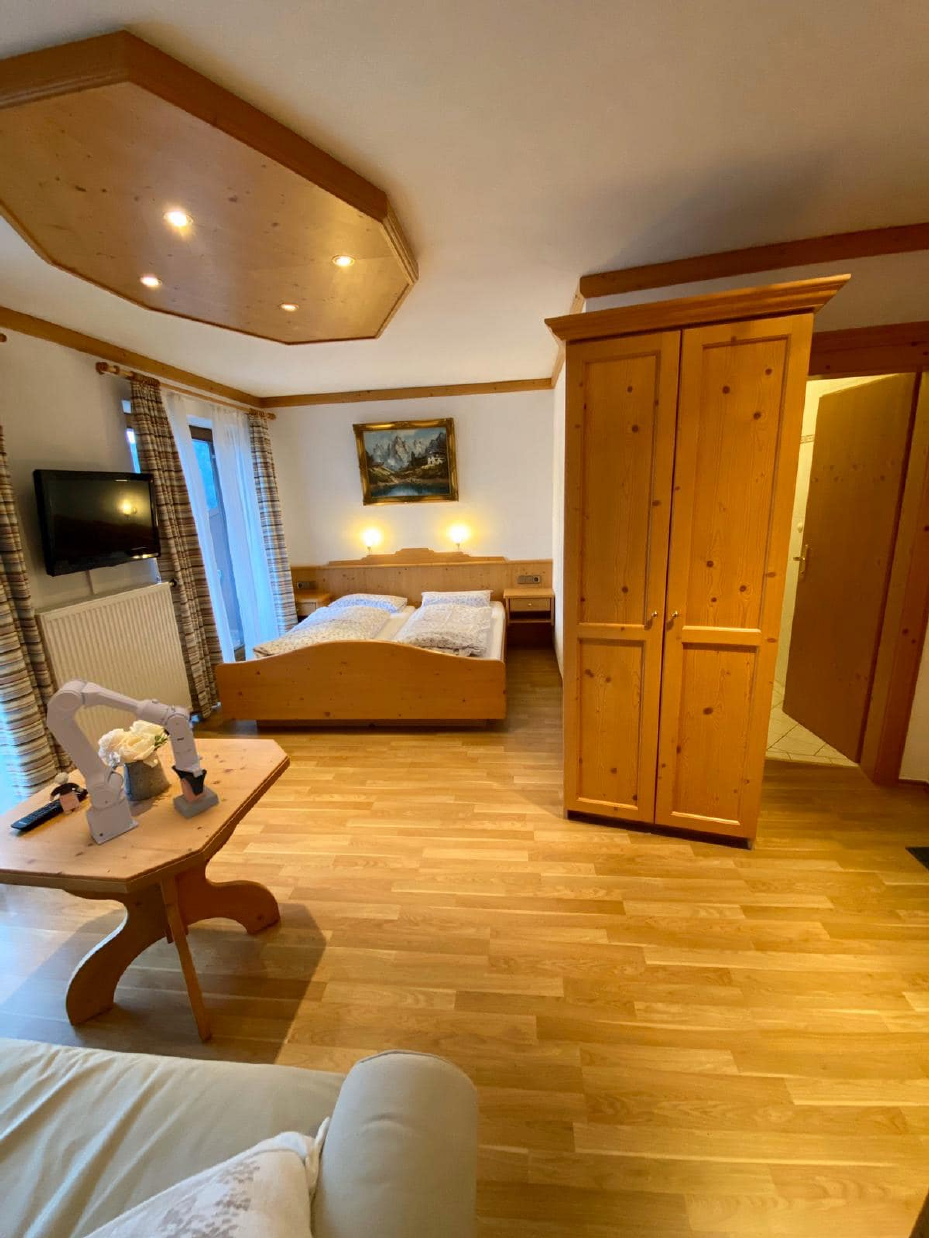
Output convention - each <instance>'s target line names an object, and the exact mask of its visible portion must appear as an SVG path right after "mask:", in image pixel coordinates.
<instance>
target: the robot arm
mask: <svg viewBox="0 0 929 1238" xmlns="http://www.w3.org/2000/svg"><path fill="white" fill-rule="evenodd" d="M46 706H47V713H46V722H45V725H46V727H47V728H48V730H49V731H50V732H51V734H52V735H53V737H54V739H56V741H57V742H58V743H59V745H60V746H61V748H62V749H63V750H64V752H65V753H66V755H67V756H68V758H69V759H70V760H71V762H72V763H73V765H74V766H75V768H76V769H77V770H78V771H79V773H80V774H81V776H82V777H83V778H84V783H85V788H86V789H85V790H86V791H87V793H88V795H89V803H90V804H91V807H90V808H89V809H86V810H85V811H84V815H85V819H86V821H87V825H88V828H89V833H90V835H91V836H92V838H93V839H94V840H95V842H96V844H98V845H101V844H103V843H105V842H107V841H109V840H112V839H113V838H116V837H118V836H120V835H122V834H124V833H126V832H128V831H130V830H132V829H135V828H136V827H138V826H139V823H138V822H137V820H136V819H135V818H134V817H133V815H132V813H131V812H132V811H131V810H130V805H129V801H128V798H127V793H126V792H125V791H124V790H123V789H122V787H123V785H124V782H125V778H124V777H123V775H122V774H121V773H120V772H118V771H115V770H114V769H113V767H112V766H111V765H108V764H106V763H105V762H104V760H103V759H102V758H101V756H100V754H99V753H98V752H97V750H96V749H95V747H94V746H93V744H91V743H92V742H91V741H90V740H89V738H88V737H87V736H86V734H85V733H84V732H83V730H82V729H81V727H80V726H79V725H78V723H77V722H76V720H75V719H74V718H75V716H76V714H77V712H78V711H79V709H80V708H82V706H84V707H83V709H84V710H86V709H90V708H92V707H93V708H94V707H97V706H105V707H109V708H113V709H116V710H121V711H124V712H128V713H132V714H134V716H135V718H136V719H137V720H140V721H143V722H146V723H149V724H150V723H151V724H154V725H156V726H159V727H164V728H165V730H166V731H167V732H168V733H169V740H170V744H171V746H170V747H171V750H172V754H173V758H174V765H172V766H171V769H172V770H173V771H174V773H176V775H177V777H178V778H179V781H180V780H181V779H183V778H184V779H185V780H187V782H188V783H189V784H190V786H191V789H192V791H193V793H194V795H195V796H197V795H199V794H201V793H203V786H204V785H205V779H206V776H207V773H208V771H207V769H205V768H204V769H202V767H201V762H200V761H201V760H203V756H202V755H198V752H197V746H196V743H195V742H196V741H195V738H194V733H193V730H192V726H191V724H190V717H191V715H190V710H188V709H187V708H186V707H184V706H182V705H176V706H175V705H173V704H172V705H167V704H165V703H161V702H158V699H156V698H152V699H149V698H146V699H144V700H138V699H135V698H132V697H129V696H127V695H125V694H122V693H119V692H116V691H114V690H110V689H108V688H106V687H103V686H102V685H99V684H97V683H95V682H92V681H91V682H90V681H85V680H84V679H80V678H72V679H69V680H67V681H65V682H64V683H63V684H62V685H61V686H60V688H59V689H58V690H57V692H55V693H54V694H53V696H52V697H51V698H50V700H49V701H48V703H47V704H46Z"/></svg>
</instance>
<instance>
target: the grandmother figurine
mask: <svg viewBox="0 0 929 1238" xmlns="http://www.w3.org/2000/svg"><path fill="white" fill-rule="evenodd" d="M53 781H54V784H57V786H56V787H55V788H54V789H52V791H51V793H50V794H49V795H50V796H49V802H53V801H54V800H55V797H56V796H58V795H59V801H60V804H61V807H62V809H63V813H64V815H69V814H71V813H72V812H73V810H74V812H78V811H80V810H81V809H82V808H83V806H84V805H83V804H81V803H80V801H79V798H78V796H77V793H76V792H75V790H77V791H78V792H79V793H82V792H83V791H84V789H83V788H82V787H81V786H80V784H78V783H75V782H72V781H71V782H69V775H68V773H67V772H66V771H63V772H59V773H58V774H57V775H55V777H54V780H53Z"/></svg>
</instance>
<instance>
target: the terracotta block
mask: <svg viewBox="0 0 929 1238" xmlns="http://www.w3.org/2000/svg"><path fill="white" fill-rule="evenodd" d="M179 781H180V786H181V791H182V794H183V796H184V798H185V799H186V800H187V801H188V802H190V803H191V802H193V801H195V800H198V799H200V798H202V797H204V796H206V792H205V788H204V786H203V793H201V794H199V795H197V796H195V795H194V793H193V791H192V789H191V786H190V784H189V783H188V782H187V780H185V779H184V778H183V779H181V780H180V779H179Z"/></svg>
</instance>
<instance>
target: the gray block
mask: <svg viewBox="0 0 929 1238" xmlns="http://www.w3.org/2000/svg"><path fill="white" fill-rule="evenodd" d="M204 788H205V792H206V796H204V797H202V798H200V799H198V800H195V801H193V802H191V803H190V802H188V801H187V800H186V799H185V798H184V796H183V793H182V794H180V795H178V796H176V797H174V798H172V801H173V806H174V808H175V809H176V810H177V812H179V813H180V815H182V816H183V817H185V819H187V820H188V819H190V818H192V817H195V816H196V815H198V814H200V813H202V812H204V811H206V810H208V809H210V808H212V807H214V806H216V805H218V804H220V801H219V797H218V793H216V792H215V791H214V790H212V789H211V788H210V787H208V786H207V785H206V784H204Z"/></svg>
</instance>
